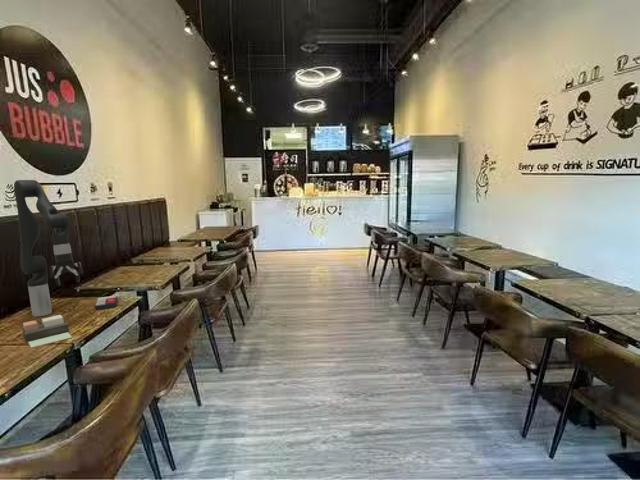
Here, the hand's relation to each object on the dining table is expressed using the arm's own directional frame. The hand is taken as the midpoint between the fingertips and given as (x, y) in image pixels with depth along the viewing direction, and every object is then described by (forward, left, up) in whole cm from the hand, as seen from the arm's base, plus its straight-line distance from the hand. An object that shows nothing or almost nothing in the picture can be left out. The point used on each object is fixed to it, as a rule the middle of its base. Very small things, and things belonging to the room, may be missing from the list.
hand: (68, 283), depth 208 cm
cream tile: (+6, -10, -17) cm, 21 cm away
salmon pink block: (+6, -19, -17) cm, 26 cm away
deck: (+7, -13, -21) cm, 26 cm away
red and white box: (-20, +21, -22) cm, 37 cm away
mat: (+18, -13, -21) cm, 31 cm away
